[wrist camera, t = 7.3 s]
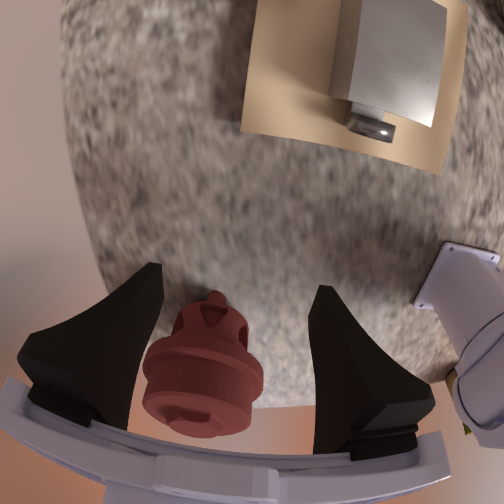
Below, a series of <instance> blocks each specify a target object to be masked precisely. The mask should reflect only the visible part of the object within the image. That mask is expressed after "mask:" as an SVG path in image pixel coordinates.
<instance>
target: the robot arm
mask: <svg viewBox="0 0 504 504" xmlns="http://www.w3.org/2000/svg"><path fill="white" fill-rule="evenodd" d="M450 248H451V249H450ZM499 259H500V255H499V254H497V253H493V252H489V251H485V250H481V249H477V248H472V247H468V246H463V245H459V244H455V243H450V242H446V243H444V245H443V246H442V248H441V251H440V253H439V255H438V257H437V259H436V261H435V263H434V265H433V267H432V269H431V271H430V273H429V275H428V277H427V279H426V281H425V283H424V285H423V286H422V288H421V290H420V292H419V294H418V296H417V297H416V299H415V301H414V303H413V306H414V308H416V309H434V310H435V311H436V313H437V315H438V317H439V319H440V321H441V323H442V325H443V327H444V329H445V331H446V333H447V335H448V337H449V339H450V341H451V343H452V345H453V347H454V350H455V352H456V354H457V356H458V358H459V363H458V364H457V365H456V366H455V369H456V372H457V374H458V377H457V378H456V379H455V381H454V383H453V403H454V407H455V409H456V412H457V414H458V416H459V417H460V419H461V420H462V421H463V423H464V424H465V425H467V426H468V427H469V428H470V430H471V431H472V432H473V434H474V435H475V437H476V439H477V441H478V442H479V445H480V446H481V447H485V448H495V449H504V272H503V271H502V269H501V268H500V267H499V266H498V265H497V263H498V261H499ZM163 300H164V290H163V278H162V266H161V264H158V263H152V262H149V263H147V264H146V265H145V266H144V267H142V268H141V269H140V270H139V271H138V272H137V273H135V274H134V275H133V276H132V277H131V278H130V279H128V280H127V281H126V282H125V283H124V284H122V285H121V286H120V287H119V288H118V289H116V290H115V291H114V292H112V293H111V294H110V295H108V296H107V297H106V298H104V299H103V300H101V301H100V302H99V303H97V304H95V305H94V306H92V307H91V308H89V309H88V310H86V311H84V312H82V313H80V314H78V315H76V316H75V317H73V318H71V319H69V320H67V321H64V322H62V323H60V324H58V325H55V326H53V327H51V328H47V329H44V330H41V331H38V332H35V333H32V334H30V335H29V337H28V338H27V340H26V342H25V343H24V345H23V347H22V348H21V350H20V351H19V353H18V355H17V360H18V363H19V365H20V366H21V368H22V369H23V370H24V372H25V373H26V374H27V376H28V377H29V378H30V380H31V381H32V382H33V383H34V384H33V386H32V388H30V387H29V386H27V385H26V384H24V383H22V382H20V381H18V380H17V379H15V378H13V377H11V376H8V378H7V380H6V382H5V384H4V386H3V388H2V390H1V392H0V428H1V429H3V430H4V431H5V432H6V433H8V434H9V435H10V436H12V437H13V438H14V439H16V440H17V441H19V442H20V443H22V444H23V445H25V446H27V447H28V448H30V449H32V450H33V451H35V452H37V453H39V454H40V455H42V456H44V457H46V458H48V459H49V460H51V461H53V462H56V463H57V464H59V465H61V466H63V467H65V468H67V469H69V470H71V471H73V472H75V473H78V474H80V475H82V476H84V477H87V478H89V479H91V480H94V481H96V482H99V483H101V484H104V485H106V490H105V494H104V499H103V503H102V504H372V503H376V502H381V501H385V500H388V499H392V498H396V497H399V496H403V495H406V494H410V493H413V492H416V491H419V490H421V489H424V488H426V487H429V486H431V485H433V484H436V483H438V482H440V481H442V480H444V479H447V478H449V477H450V476H451V470H450V466H449V461H448V456H447V452H446V448H445V444H444V440H443V436H442V432H441V431H436V432H432V433H428V434H424V435H421V436H419V437H417V438H416V434H415V432H416V431H418V425H417V423H418V422H419V421H420V420H421V419H423V418H424V417H425V416H426V415H427V414H429V413H430V412H431V411H432V410H433V408H434V406H435V399H434V396H433V393H432V390H431V387H430V385H429V384H427V383H425V382H424V381H422V380H420V379H419V378H417V377H416V376H414V375H413V374H411V373H410V372H408V371H407V370H406V369H404V368H403V367H402V366H400V365H399V364H398V363H397V362H395V361H394V360H393V359H392V358H391V357H390V356H389V355H388V354H386V353H385V352H384V351H383V350H382V349H381V348H380V347H379V346H378V345H377V344H376V343H375V342H374V341H373V340H372V338H371V337H370V336H369V335H368V334H367V333H366V332H365V330H364V329H363V328H362V327H361V326H360V324H359V323H358V322H357V320H356V319H355V318H354V316H353V315H352V314H351V312H350V311H349V310H348V308H347V307H346V305H345V304H344V303H343V301H342V300H341V298H340V297H339V295H338V294H337V292H336V291H335V290H334V288H333V287H332V286H325V285H319V288H318V291H317V293H316V296H315V299H314V302H313V305H312V307H311V310H310V313H309V315H308V329H309V341H310V347H311V354H312V361H313V367H314V374H315V388H316V415H315V435H314V446H313V455H272V454H271V455H270V454H253V453H240V452H229V451H221V450H213V449H207V448H199V447H193V446H188V445H182V444H177V443H172V442H168V441H163V440H159V439H154V438H151V437H146V436H143V435H139V434H135V433H132V432H128V431H127V426H128V419H129V412H130V406H131V400H132V395H133V390H134V386H135V382H136V377H137V373H138V369H139V366H140V362H141V359H142V356H143V353H144V351H145V348H146V346H147V343H148V341H149V339H150V336H151V334H152V331H153V329H154V327H155V324H156V322H157V319H158V317H159V314H160V311H161V307H162V303H163Z"/></svg>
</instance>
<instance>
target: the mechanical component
mask: <svg viewBox="0 0 504 504" xmlns="http://www.w3.org/2000/svg"><path fill="white" fill-rule="evenodd" d="M248 333H249V328H248V324H247V321H246V320H245V318H244V317H243V316H242V315H241V314H240V313H239V312H238V311H236V310H235V309H233V308H232V307H230V306H227V305H226V300H225V296H224V295H223V294H221V293H219V292H212V293H210V294H209V295H208V298H207V300H206V301H199V302H194V303H191V304H188V305H186V306H185V307H183V308H182V309H181V310H180V311H179V313H178V315H177V318H176V321H175V324H174V327H173V330H172V333H171V336H167V337H164V338H161V339H159V340H157V341H155V342H154V343H152V345H151V346H150V347H149V348H148V350H147V353H146V356H145V359H144V362H143V365H142V369H143V373H144V375H145V377H146V379H147V380H148V384H147V387H146V390H145V394H144V397H143V400H142V404H143V407H144V409H145V410H146V411H147V412H148V413H149V414H150V415H151V416H152V417H154V418H155V419H156V420H158V421H160V422H162V423H163V424H165V425H167V426H169V427H170V428H171V429H173V430H174V431H176V432H178V433H180V434H183V435H186V436H191V437H195V438H213V437H216V436H224V435H231V434H235V433H238V432H241V431H243V430H245V429H247V428H248V427H249V426H250V423H251V412H252V402H253V401H255V400H256V399H257V398H258V397H259V396H260V395H261V393H262V391H263V369H262V367H261V365H260V363H259V362H258V361H257V359H256V358H255V357H253V356H252V355H251V354H250V353H248V352H247V346H248Z"/></svg>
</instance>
